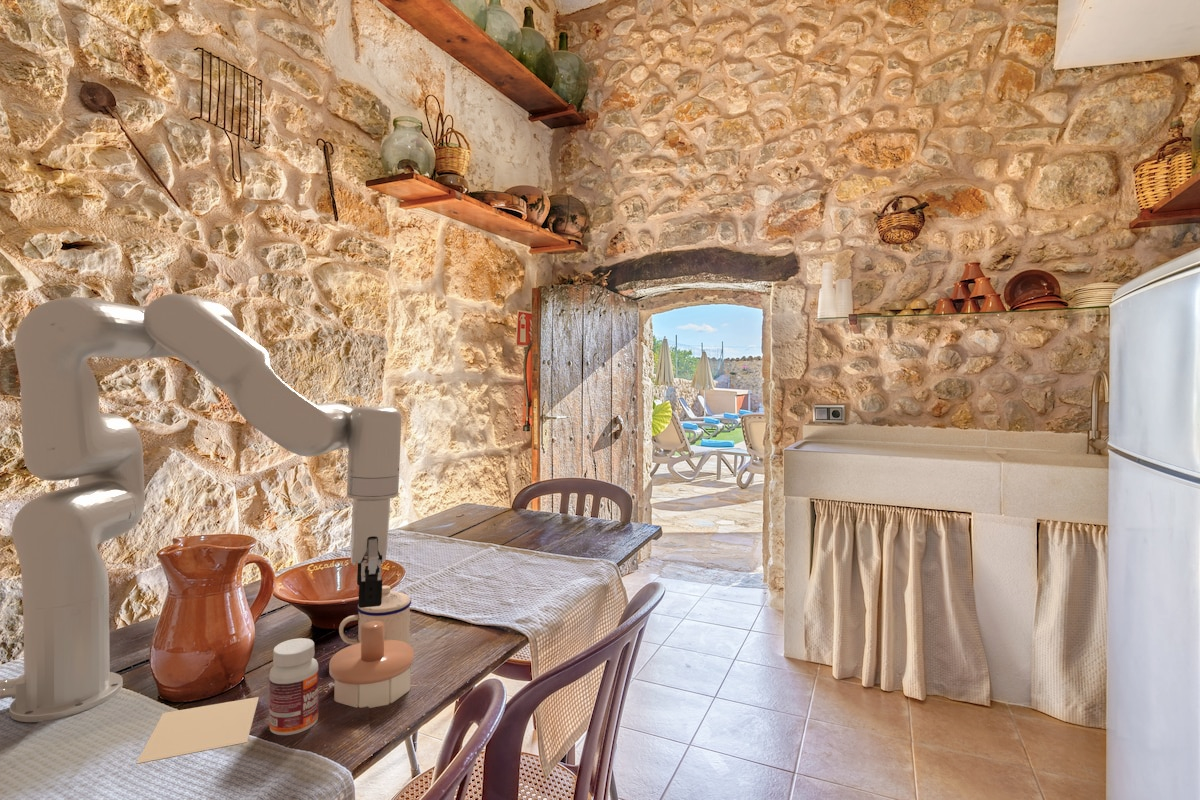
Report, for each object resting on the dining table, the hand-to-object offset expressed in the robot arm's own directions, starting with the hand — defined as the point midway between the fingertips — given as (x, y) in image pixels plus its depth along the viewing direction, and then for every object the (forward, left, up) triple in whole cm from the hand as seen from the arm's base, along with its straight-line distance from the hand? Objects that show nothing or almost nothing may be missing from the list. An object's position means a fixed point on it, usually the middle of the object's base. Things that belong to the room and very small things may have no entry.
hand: (368, 594), depth 93 cm
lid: (+1, 0, -11) cm, 11 cm away
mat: (-21, -3, -15) cm, 26 cm away
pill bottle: (-10, -6, -15) cm, 19 cm away
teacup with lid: (+2, +13, -15) cm, 20 cm away
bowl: (+1, 0, -15) cm, 15 cm away
